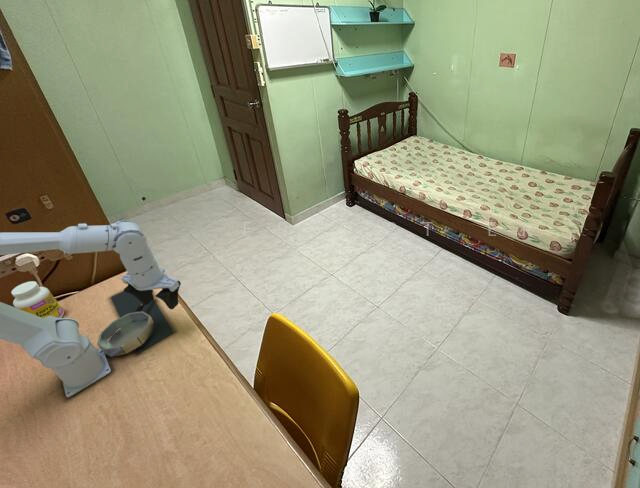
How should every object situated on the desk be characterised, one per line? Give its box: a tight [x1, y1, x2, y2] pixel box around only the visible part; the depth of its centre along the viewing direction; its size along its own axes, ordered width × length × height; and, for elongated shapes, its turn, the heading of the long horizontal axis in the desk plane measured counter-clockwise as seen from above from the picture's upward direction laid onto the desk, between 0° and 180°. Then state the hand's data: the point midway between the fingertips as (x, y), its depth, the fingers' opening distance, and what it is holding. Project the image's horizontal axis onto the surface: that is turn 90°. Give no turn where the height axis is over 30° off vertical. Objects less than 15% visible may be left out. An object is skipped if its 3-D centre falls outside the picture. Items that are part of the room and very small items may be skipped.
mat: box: [110, 290, 175, 355], centre depth 91 cm, size 28×8×1 cm, turn 50°
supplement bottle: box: [10, 280, 65, 318], centre depth 86 cm, size 7×7×13 cm
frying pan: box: [96, 289, 155, 358], centre depth 86 cm, size 19×11×4 cm, turn 11°
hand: (161, 304), depth 83 cm, fingers open, 7 cm apart
